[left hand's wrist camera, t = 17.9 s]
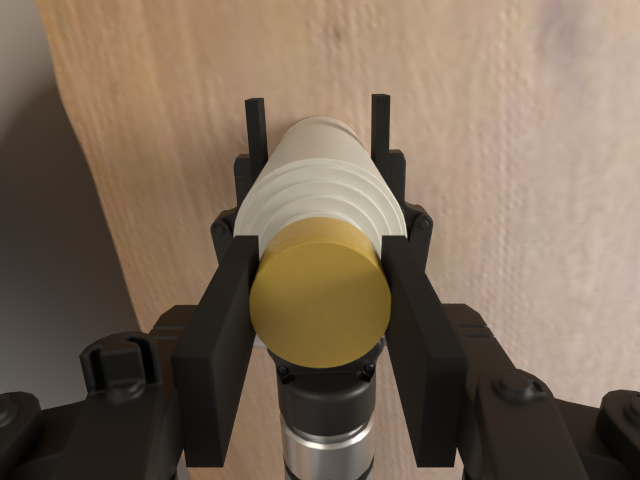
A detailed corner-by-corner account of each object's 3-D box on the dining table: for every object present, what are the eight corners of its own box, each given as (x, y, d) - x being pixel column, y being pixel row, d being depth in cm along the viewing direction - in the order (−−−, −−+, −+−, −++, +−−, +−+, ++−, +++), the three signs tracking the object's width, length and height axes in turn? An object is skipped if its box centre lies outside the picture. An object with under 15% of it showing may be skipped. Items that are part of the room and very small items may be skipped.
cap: (288, 195, 13) (282, 217, 11) (403, 247, 14) (418, 277, 12) (240, 301, 15) (227, 338, 13) (347, 344, 15) (352, 386, 13)
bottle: (375, 185, 34) (461, 354, 14) (296, 215, 35) (261, 417, 14) (346, 101, 32) (394, 149, 11) (262, 135, 33) (163, 238, 12)
